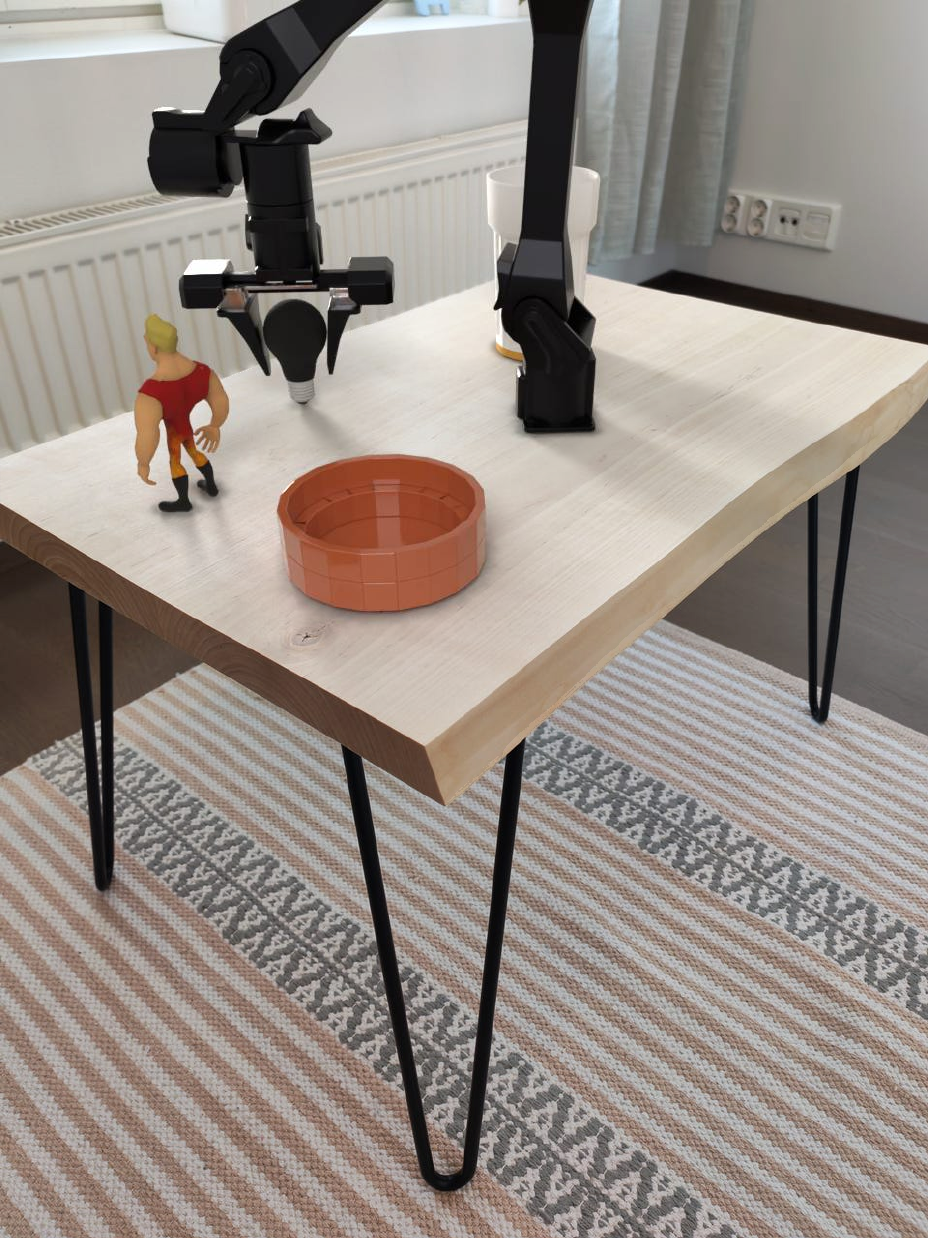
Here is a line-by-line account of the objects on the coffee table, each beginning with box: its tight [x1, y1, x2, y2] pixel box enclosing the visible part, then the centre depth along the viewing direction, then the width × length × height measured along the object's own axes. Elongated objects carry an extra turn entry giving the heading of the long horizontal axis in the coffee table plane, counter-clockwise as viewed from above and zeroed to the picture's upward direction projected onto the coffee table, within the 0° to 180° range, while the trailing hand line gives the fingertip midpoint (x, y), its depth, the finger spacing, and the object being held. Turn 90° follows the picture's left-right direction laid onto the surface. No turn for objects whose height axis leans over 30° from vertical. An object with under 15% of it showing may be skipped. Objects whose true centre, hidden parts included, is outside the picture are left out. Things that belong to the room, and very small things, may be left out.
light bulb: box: [262, 298, 327, 406], centre depth 92 cm, size 6×6×10 cm
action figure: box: [133, 313, 230, 513], centre depth 75 cm, size 10×4×15 cm, turn 149°
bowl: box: [276, 453, 487, 612], centre depth 70 cm, size 14×14×5 cm
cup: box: [486, 164, 601, 362], centre depth 101 cm, size 11×11×17 cm
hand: (299, 373), depth 93 cm, fingers open, 6 cm apart
